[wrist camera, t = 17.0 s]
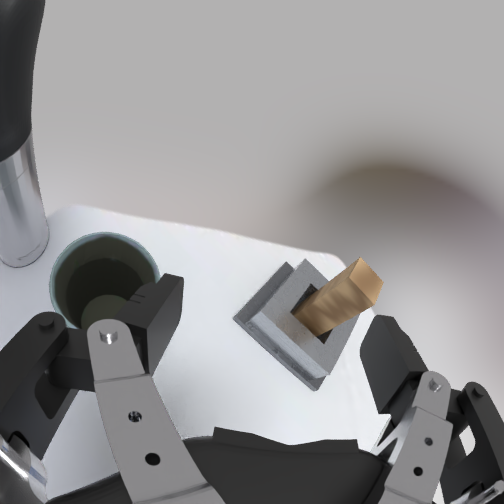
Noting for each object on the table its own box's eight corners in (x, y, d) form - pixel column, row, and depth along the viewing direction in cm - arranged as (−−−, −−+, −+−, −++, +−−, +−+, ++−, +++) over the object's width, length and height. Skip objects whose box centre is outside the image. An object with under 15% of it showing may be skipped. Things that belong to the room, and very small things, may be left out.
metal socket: (232, 318, 37) (247, 305, 33) (283, 264, 46) (299, 248, 42) (313, 391, 35) (335, 385, 32) (348, 327, 45) (368, 316, 41)
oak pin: (284, 322, 39) (348, 277, 28) (298, 303, 42) (360, 257, 31) (305, 342, 38) (374, 304, 28) (318, 323, 41) (383, 282, 31)
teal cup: (81, 371, 24) (57, 349, 16) (65, 292, 28) (46, 237, 19) (160, 354, 30) (176, 324, 21) (138, 280, 34) (147, 224, 25)
